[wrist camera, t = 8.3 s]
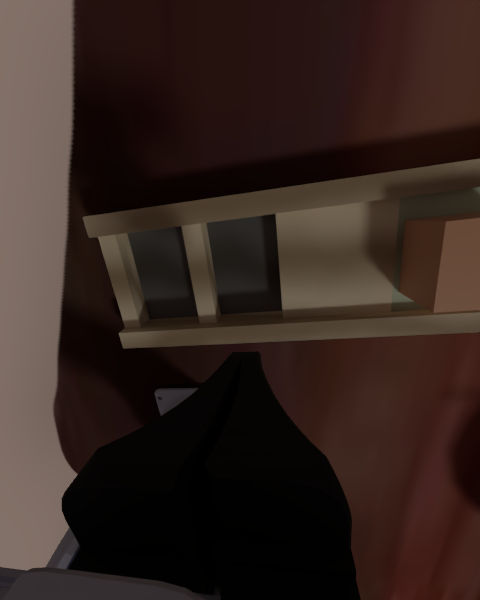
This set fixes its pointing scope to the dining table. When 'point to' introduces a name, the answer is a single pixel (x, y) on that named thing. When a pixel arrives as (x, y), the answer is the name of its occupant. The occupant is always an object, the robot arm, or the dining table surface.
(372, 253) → the trap lane
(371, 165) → the dining table surface
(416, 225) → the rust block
